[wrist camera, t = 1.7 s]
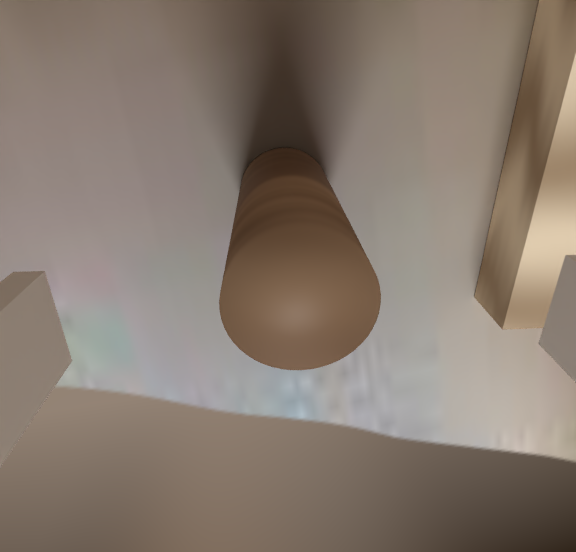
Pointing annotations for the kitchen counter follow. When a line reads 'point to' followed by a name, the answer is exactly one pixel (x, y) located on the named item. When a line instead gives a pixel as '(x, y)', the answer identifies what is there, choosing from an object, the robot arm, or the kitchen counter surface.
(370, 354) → the kitchen counter surface
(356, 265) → the peg
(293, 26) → the kitchen counter surface
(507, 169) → the socket block
